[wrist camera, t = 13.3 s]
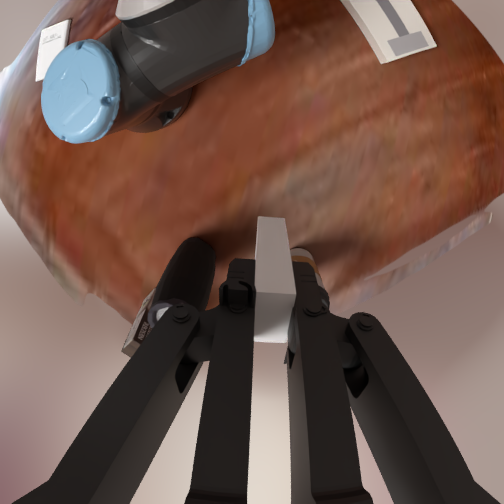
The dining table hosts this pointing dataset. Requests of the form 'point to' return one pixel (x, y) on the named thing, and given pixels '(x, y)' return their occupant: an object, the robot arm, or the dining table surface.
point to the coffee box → (139, 327)
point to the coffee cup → (305, 256)
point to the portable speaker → (185, 279)
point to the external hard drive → (51, 46)
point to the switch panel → (390, 27)
